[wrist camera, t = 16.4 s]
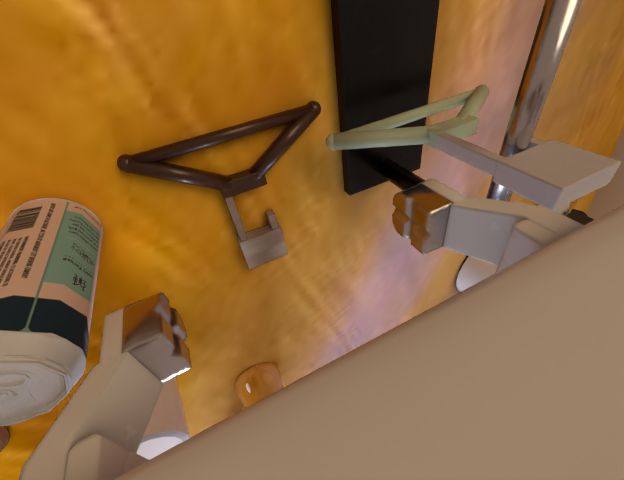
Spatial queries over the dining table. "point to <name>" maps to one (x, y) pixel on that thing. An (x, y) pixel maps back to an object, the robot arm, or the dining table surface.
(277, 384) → the beer glass
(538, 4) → the dining table surface
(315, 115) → the walnut hanger
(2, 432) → the skull
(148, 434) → the beige short cylinder
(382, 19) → the rail stand
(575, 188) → the sage hanger
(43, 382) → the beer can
